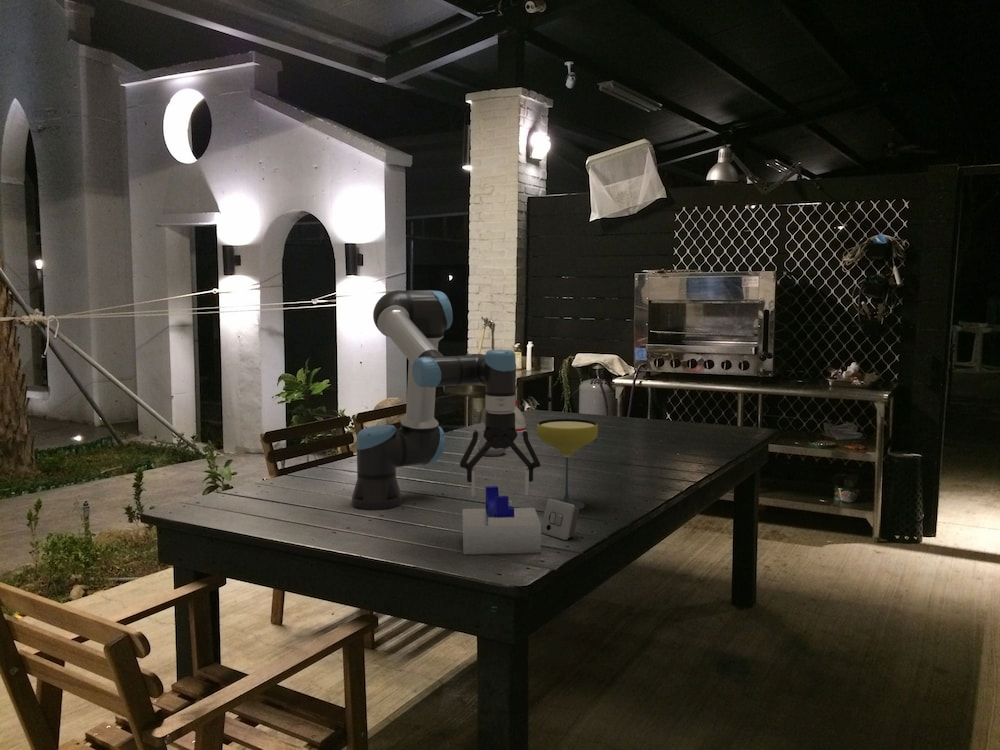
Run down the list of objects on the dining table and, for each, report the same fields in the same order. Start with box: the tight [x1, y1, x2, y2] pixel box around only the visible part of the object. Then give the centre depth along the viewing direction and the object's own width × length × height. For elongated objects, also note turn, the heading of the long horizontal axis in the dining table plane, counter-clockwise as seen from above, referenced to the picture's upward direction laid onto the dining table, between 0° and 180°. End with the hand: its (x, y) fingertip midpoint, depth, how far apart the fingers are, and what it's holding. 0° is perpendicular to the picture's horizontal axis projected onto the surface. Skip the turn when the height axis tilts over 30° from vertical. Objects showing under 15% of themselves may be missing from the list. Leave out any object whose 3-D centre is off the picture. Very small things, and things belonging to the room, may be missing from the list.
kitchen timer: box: [513, 397, 527, 432], centre depth 376 cm, size 14×14×15 cm
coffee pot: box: [477, 421, 507, 457], centre depth 324 cm, size 21×12×15 cm, turn 152°
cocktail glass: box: [536, 418, 599, 510], centre depth 242 cm, size 18×18×25 cm
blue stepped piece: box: [485, 485, 515, 517], centre depth 206 cm, size 12×4×6 cm, turn 14°
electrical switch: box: [541, 498, 580, 541], centre depth 214 cm, size 9×5×9 cm, turn 42°
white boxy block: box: [462, 500, 542, 555], centre depth 206 cm, size 19×16×9 cm
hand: (499, 494), depth 206 cm, fingers open, 13 cm apart
